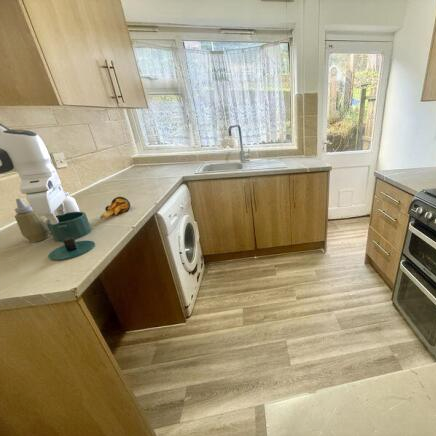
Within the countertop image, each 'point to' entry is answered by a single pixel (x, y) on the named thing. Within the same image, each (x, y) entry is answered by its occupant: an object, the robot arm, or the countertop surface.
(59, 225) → the pot
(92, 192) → the countertop surface
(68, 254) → the pot lid
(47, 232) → the squeeze bottle
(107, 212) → the chicken drumstick
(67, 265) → the countertop surface
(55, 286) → the countertop surface
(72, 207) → the pill bottle
